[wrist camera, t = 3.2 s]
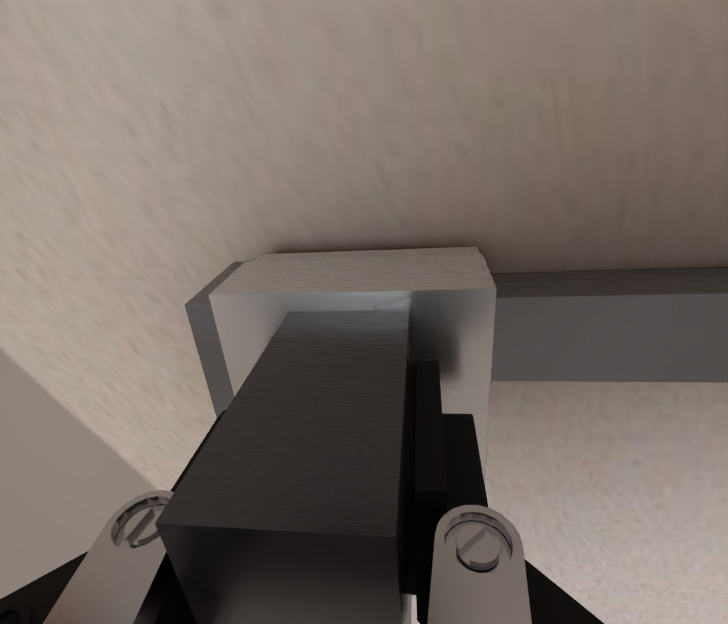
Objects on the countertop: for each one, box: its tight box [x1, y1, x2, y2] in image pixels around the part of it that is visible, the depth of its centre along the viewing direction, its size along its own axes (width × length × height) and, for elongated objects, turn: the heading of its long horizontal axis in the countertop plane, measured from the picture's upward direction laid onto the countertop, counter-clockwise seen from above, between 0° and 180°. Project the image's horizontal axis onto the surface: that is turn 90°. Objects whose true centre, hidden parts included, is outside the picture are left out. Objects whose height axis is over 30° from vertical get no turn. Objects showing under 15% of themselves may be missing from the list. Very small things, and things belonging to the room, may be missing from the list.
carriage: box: [155, 247, 496, 624], centre depth 11 cm, size 7×6×10 cm
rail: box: [185, 262, 728, 418], centre depth 14 cm, size 19×4×4 cm, turn 94°
